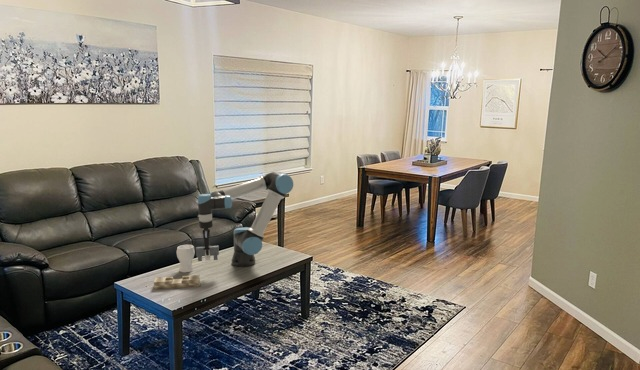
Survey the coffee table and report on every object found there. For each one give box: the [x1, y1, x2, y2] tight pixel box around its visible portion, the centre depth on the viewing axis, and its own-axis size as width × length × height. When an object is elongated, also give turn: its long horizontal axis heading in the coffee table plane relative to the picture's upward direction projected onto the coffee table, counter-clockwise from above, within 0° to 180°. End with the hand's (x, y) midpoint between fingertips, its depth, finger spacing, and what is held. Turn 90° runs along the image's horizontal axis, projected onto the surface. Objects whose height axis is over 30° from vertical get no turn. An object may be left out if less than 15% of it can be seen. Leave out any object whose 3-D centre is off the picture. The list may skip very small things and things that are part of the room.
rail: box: [153, 274, 201, 290], centre depth 260 cm, size 24×7×4 cm, turn 102°
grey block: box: [195, 245, 220, 262], centre depth 273 cm, size 13×3×8 cm, turn 102°
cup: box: [176, 244, 196, 273], centre depth 282 cm, size 11×11×15 cm
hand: (207, 259), depth 273 cm, fingers closed on grey block, 3 cm apart
